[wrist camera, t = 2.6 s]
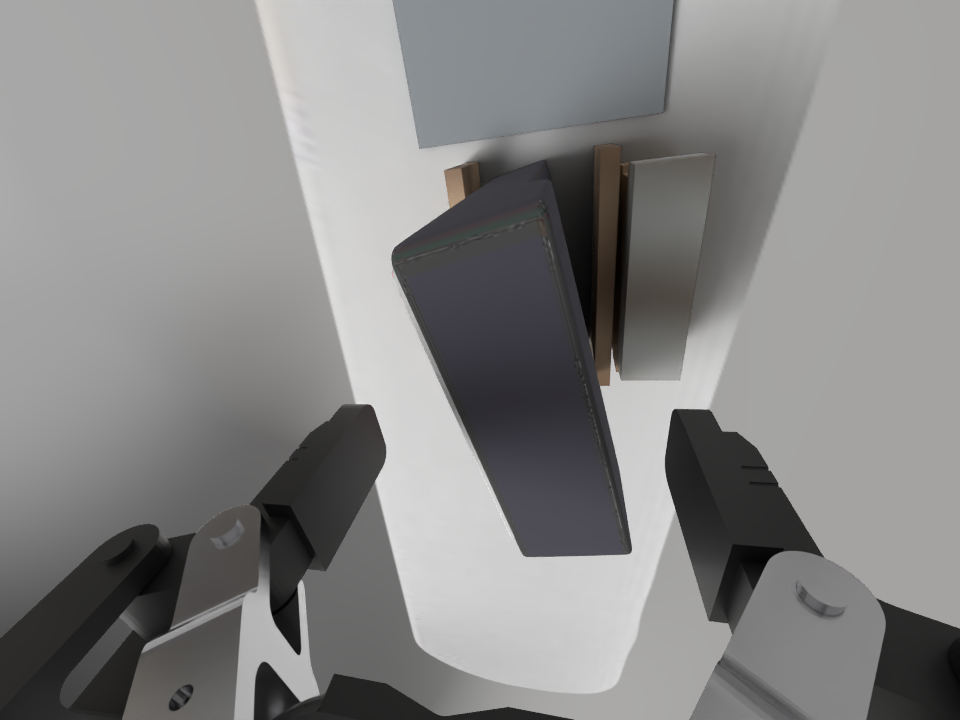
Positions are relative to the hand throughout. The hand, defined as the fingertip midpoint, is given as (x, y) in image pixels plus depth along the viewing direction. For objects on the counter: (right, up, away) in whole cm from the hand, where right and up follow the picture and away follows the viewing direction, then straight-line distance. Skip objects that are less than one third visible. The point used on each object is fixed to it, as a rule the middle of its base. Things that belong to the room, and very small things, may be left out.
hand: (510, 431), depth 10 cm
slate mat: (+1, +17, +7) cm, 19 cm away
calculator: (+3, +8, +12) cm, 15 cm away
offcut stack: (+8, +8, +11) cm, 16 cm away
